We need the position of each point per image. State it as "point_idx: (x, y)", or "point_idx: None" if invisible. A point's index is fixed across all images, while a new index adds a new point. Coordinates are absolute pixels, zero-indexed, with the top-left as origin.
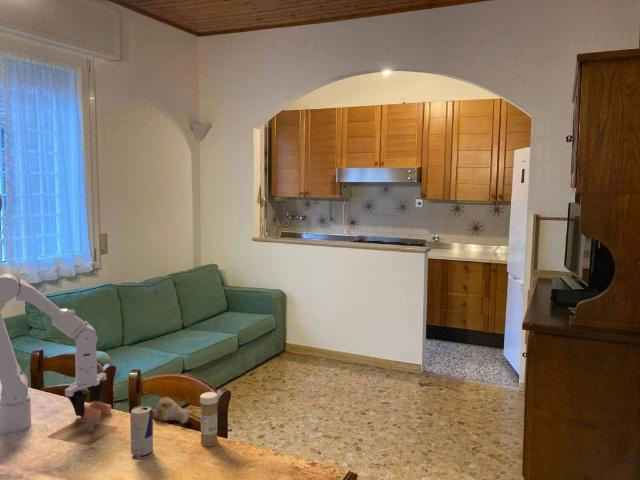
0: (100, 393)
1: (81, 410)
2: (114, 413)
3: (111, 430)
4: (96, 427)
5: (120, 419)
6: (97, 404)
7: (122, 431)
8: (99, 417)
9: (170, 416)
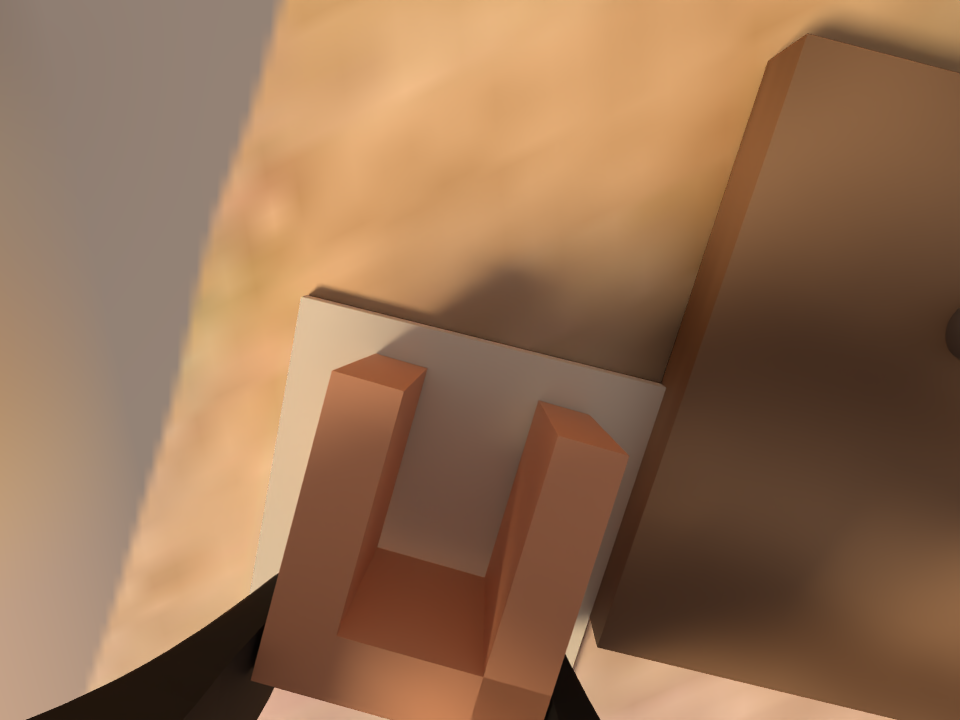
0: (149, 699)
1: (587, 703)
2: (251, 359)
3: (916, 83)
4: (806, 338)
5: (399, 209)
6: (353, 585)
7: (737, 18)
8: (567, 418)
9: None
